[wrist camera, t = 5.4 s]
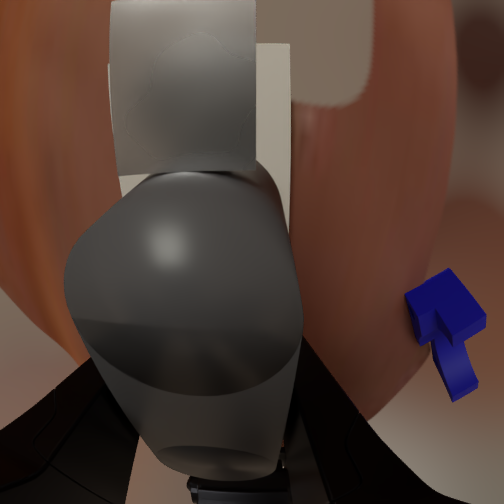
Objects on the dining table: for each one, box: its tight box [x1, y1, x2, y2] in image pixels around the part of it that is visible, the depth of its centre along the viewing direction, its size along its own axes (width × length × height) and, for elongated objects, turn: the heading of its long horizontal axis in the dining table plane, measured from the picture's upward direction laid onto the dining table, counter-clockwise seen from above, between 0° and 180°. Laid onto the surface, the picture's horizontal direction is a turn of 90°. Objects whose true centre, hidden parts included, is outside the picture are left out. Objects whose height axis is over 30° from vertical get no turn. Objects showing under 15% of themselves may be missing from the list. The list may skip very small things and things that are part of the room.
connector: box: [64, 0, 304, 481], centre depth 6 cm, size 4×12×4 cm, turn 0°
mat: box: [108, 44, 291, 234], centre depth 17 cm, size 16×10×1 cm, turn 1°
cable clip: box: [405, 268, 486, 402], centre depth 21 cm, size 12×4×6 cm, turn 31°
